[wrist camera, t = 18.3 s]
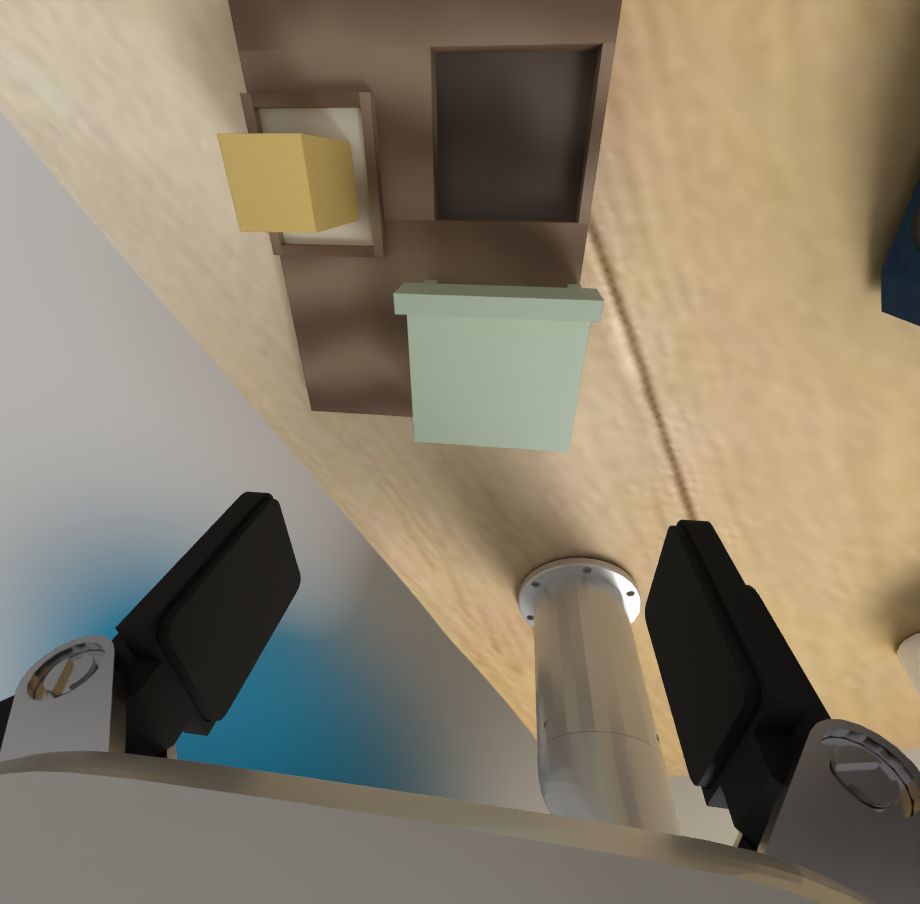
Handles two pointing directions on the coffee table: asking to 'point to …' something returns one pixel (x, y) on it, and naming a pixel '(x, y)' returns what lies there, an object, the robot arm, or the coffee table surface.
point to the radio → (904, 267)
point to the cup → (911, 659)
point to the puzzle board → (427, 160)
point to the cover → (496, 362)
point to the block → (290, 182)
